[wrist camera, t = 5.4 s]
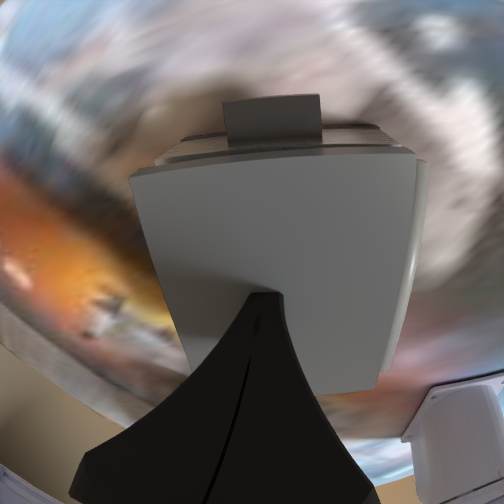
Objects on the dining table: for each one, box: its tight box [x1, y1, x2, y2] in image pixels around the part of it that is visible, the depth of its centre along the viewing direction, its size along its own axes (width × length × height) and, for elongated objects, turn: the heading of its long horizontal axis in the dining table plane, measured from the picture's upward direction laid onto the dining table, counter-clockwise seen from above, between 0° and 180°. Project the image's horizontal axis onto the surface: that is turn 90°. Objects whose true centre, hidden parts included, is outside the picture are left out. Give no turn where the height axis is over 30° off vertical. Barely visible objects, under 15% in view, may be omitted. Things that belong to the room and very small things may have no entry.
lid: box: [129, 147, 430, 396], centre depth 10 cm, size 10×8×2 cm
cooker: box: [154, 94, 401, 166], centre depth 12 cm, size 13×8×3 cm, turn 7°
